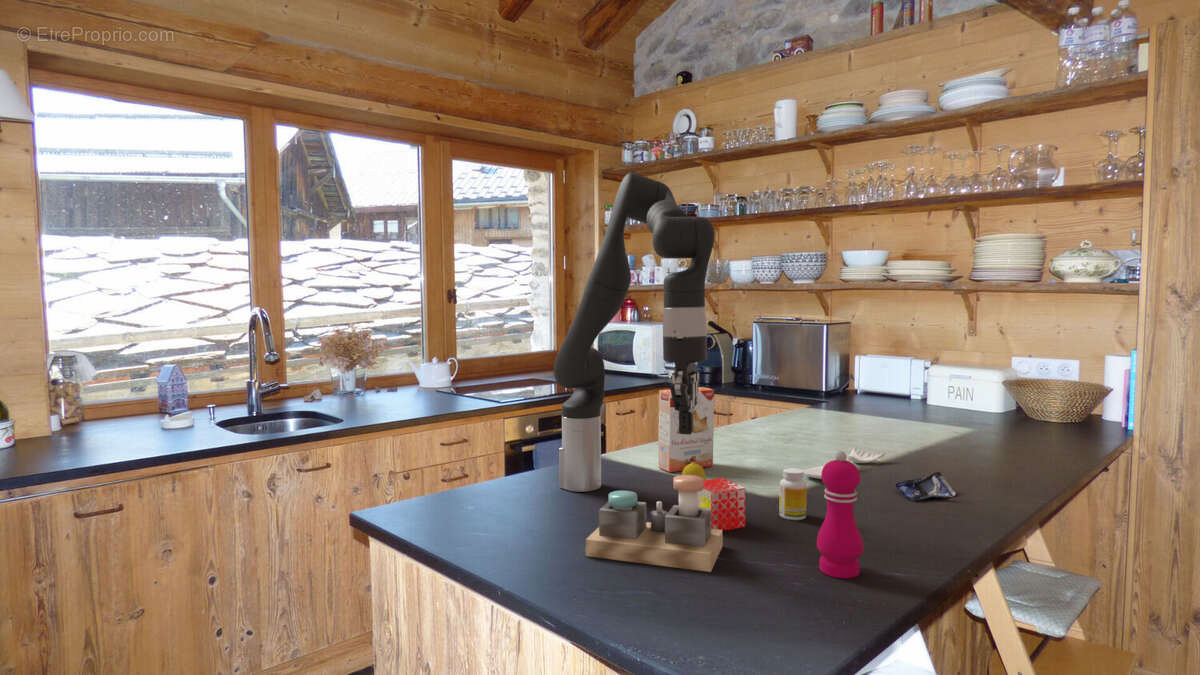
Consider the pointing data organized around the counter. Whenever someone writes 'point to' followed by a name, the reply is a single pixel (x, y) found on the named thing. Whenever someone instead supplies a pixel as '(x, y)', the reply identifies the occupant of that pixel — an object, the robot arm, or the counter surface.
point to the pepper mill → (840, 520)
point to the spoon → (853, 456)
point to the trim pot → (658, 519)
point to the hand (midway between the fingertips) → (686, 433)
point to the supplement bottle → (792, 495)
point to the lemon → (694, 470)
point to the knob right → (688, 494)
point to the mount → (656, 538)
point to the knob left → (623, 500)
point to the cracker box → (686, 447)
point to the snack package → (926, 487)
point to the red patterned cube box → (723, 503)
